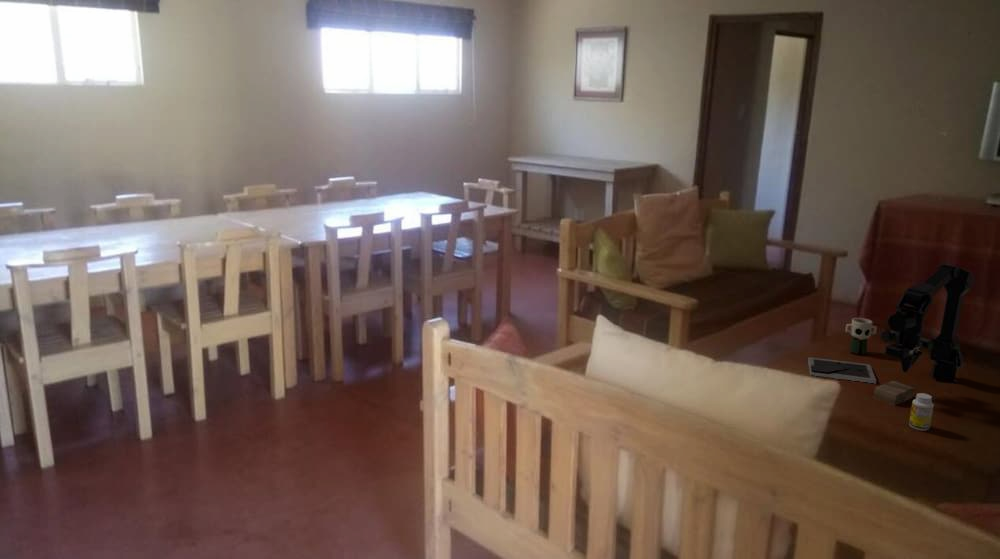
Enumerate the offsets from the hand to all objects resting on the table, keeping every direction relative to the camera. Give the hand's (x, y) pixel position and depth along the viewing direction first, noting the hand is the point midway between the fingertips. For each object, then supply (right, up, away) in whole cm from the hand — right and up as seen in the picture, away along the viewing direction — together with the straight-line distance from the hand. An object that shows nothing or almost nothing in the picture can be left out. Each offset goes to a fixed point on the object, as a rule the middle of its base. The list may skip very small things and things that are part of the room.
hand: (905, 371), depth 243 cm
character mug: (+4, +2, +41) cm, 41 cm away
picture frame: (-12, -4, +21) cm, 24 cm away
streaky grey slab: (0, -6, +2) cm, 7 cm away
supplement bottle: (-8, -14, -21) cm, 27 cm away
